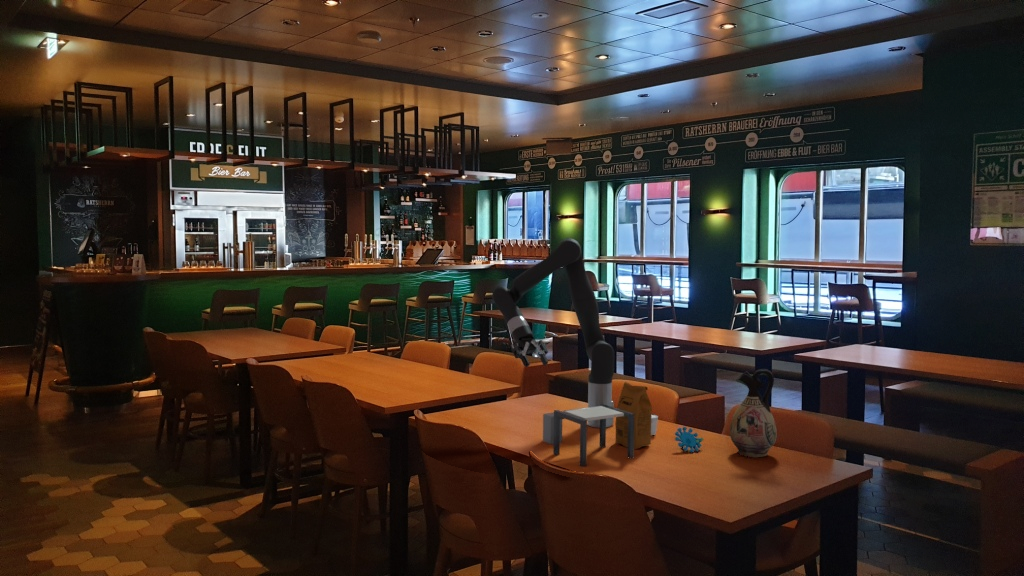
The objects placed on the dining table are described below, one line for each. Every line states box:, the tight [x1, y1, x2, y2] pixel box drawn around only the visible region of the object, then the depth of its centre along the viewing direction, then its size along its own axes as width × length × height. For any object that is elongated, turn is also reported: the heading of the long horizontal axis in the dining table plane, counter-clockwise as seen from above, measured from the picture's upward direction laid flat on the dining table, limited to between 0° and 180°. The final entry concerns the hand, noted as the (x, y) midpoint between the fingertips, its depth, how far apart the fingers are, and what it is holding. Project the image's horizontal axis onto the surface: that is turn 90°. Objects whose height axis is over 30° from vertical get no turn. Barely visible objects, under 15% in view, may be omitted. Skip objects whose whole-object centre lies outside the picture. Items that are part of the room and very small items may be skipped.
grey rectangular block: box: [542, 412, 563, 445], centre depth 278 cm, size 5×5×10 cm
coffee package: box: [614, 381, 653, 450], centre depth 274 cm, size 10×12×22 cm
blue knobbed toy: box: [674, 426, 704, 453], centre depth 270 cm, size 11×6×10 cm
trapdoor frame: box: [552, 404, 635, 467], centre depth 260 cm, size 21×17×15 cm
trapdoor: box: [562, 406, 624, 422], centre depth 260 cm, size 16×13×1 cm
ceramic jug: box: [729, 368, 778, 458], centre depth 263 cm, size 17×15×30 cm
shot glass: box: [651, 413, 659, 436], centre depth 290 cm, size 7×7×7 cm
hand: (537, 365), depth 286 cm, fingers open, 8 cm apart
